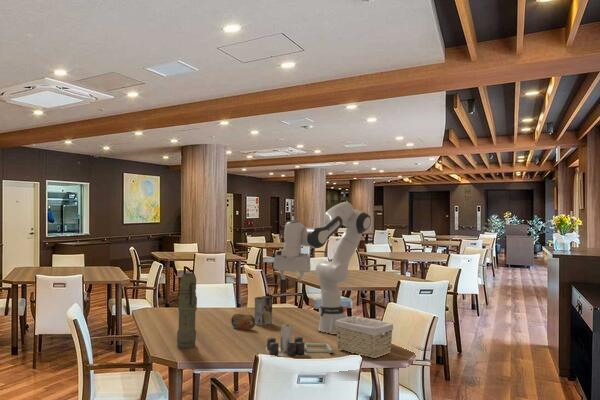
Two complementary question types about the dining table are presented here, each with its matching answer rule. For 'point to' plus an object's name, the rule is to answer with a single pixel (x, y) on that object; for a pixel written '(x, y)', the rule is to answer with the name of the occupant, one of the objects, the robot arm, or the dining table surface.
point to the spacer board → (292, 348)
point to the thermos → (187, 311)
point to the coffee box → (263, 310)
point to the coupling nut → (285, 337)
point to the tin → (243, 321)
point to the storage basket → (364, 335)
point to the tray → (318, 345)
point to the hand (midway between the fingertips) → (291, 280)
